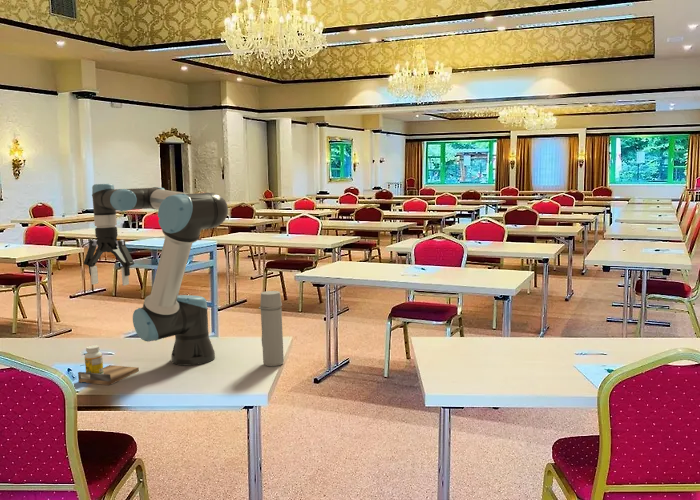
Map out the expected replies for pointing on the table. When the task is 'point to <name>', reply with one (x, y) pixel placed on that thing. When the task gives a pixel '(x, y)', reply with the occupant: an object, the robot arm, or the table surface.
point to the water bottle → (272, 328)
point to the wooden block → (107, 375)
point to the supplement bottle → (93, 360)
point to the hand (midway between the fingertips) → (110, 284)
